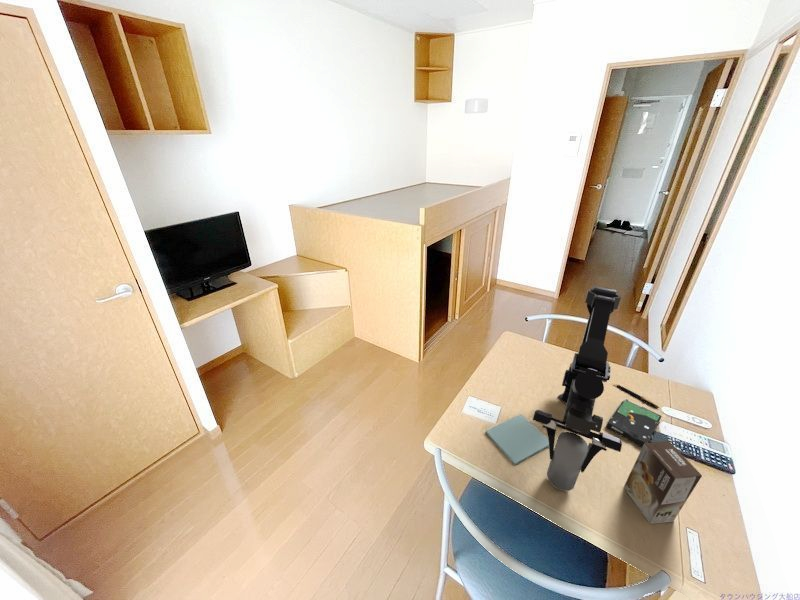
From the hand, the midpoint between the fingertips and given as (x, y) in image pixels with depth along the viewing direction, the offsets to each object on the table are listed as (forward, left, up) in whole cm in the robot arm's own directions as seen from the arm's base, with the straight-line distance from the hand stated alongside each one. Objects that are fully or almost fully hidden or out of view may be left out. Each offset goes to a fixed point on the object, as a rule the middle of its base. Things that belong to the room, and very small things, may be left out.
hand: (565, 465), depth 78 cm
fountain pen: (-49, -11, -9) cm, 51 cm away
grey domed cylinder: (-1, -1, -7) cm, 7 cm away
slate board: (-2, -16, -9) cm, 18 cm away
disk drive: (-37, -4, -10) cm, 38 cm away
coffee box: (-16, +12, -9) cm, 22 cm away
